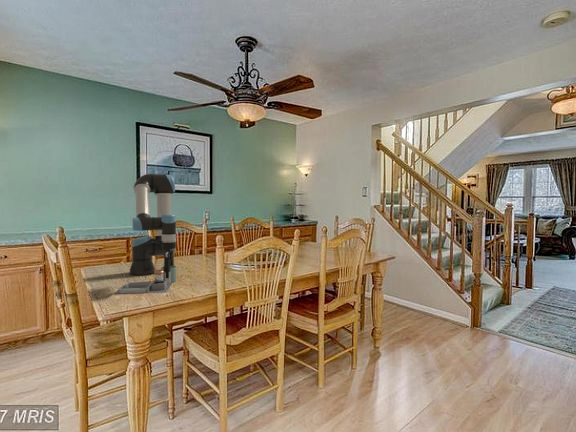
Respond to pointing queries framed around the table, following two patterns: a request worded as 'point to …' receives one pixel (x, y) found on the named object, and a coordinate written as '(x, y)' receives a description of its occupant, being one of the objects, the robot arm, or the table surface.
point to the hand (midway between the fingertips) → (169, 281)
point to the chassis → (144, 287)
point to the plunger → (159, 276)
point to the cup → (171, 274)
